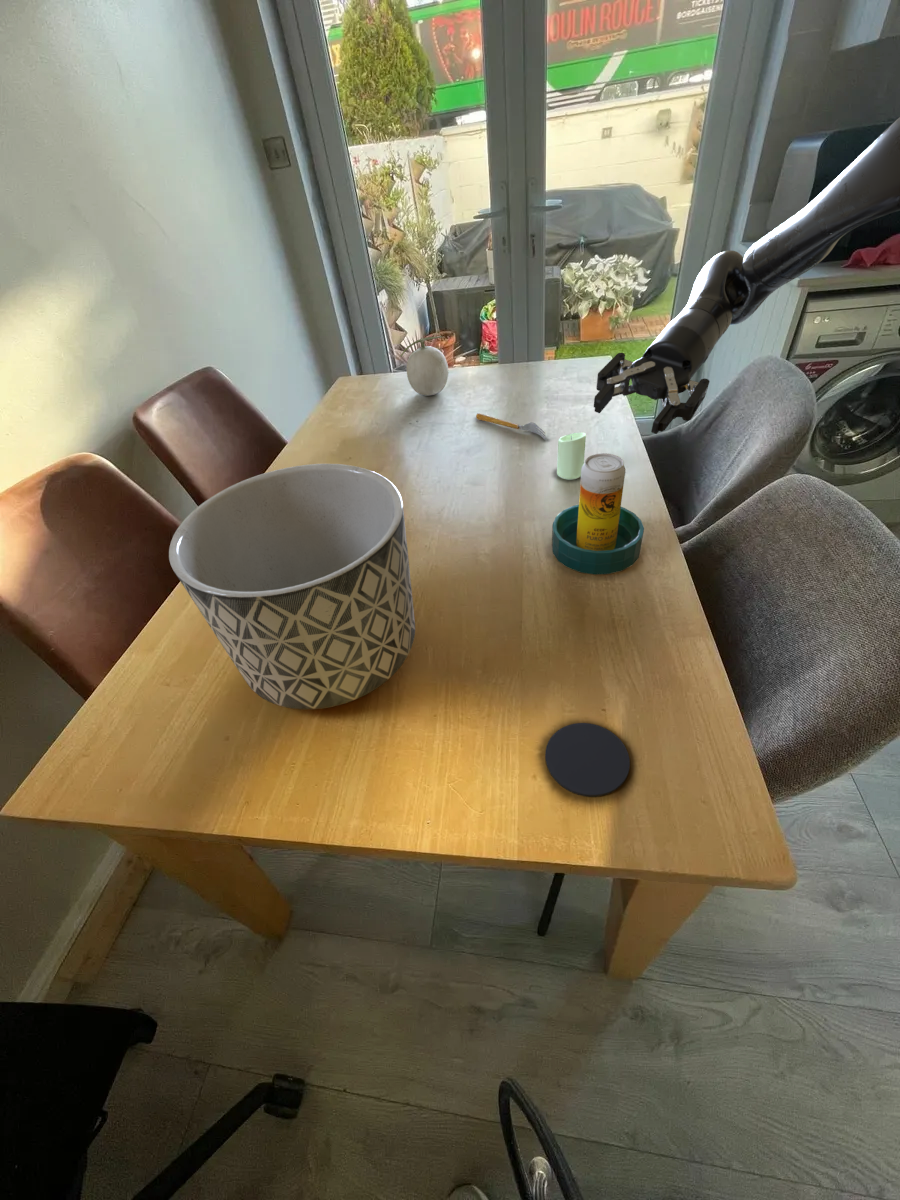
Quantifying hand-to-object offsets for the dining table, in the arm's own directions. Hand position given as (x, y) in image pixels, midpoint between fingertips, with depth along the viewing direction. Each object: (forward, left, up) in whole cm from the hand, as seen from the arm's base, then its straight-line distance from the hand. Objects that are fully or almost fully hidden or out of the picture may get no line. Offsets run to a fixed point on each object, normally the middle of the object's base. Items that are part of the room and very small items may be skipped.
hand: (625, 417), depth 75 cm
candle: (+11, -21, -21) cm, 32 cm away
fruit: (+55, -54, -21) cm, 80 cm away
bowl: (+2, +2, -21) cm, 21 cm away
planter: (+32, +34, -21) cm, 51 cm away
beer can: (+2, +2, -21) cm, 21 cm away
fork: (+28, -38, -22) cm, 52 cm away
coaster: (-4, +40, -21) cm, 45 cm away
